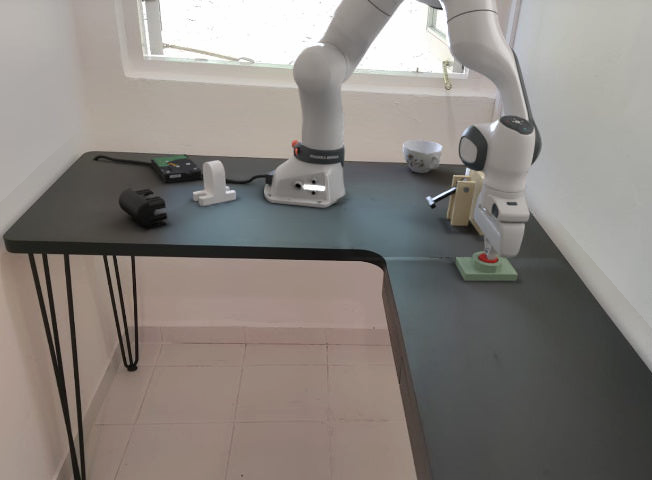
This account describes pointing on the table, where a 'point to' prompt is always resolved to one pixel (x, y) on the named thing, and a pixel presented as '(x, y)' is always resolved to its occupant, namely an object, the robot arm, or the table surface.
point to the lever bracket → (461, 200)
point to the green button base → (485, 269)
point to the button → (484, 259)
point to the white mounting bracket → (214, 185)
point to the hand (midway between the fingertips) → (489, 257)
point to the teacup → (422, 155)
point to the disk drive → (176, 168)
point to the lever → (442, 196)
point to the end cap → (143, 207)
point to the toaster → (476, 195)
